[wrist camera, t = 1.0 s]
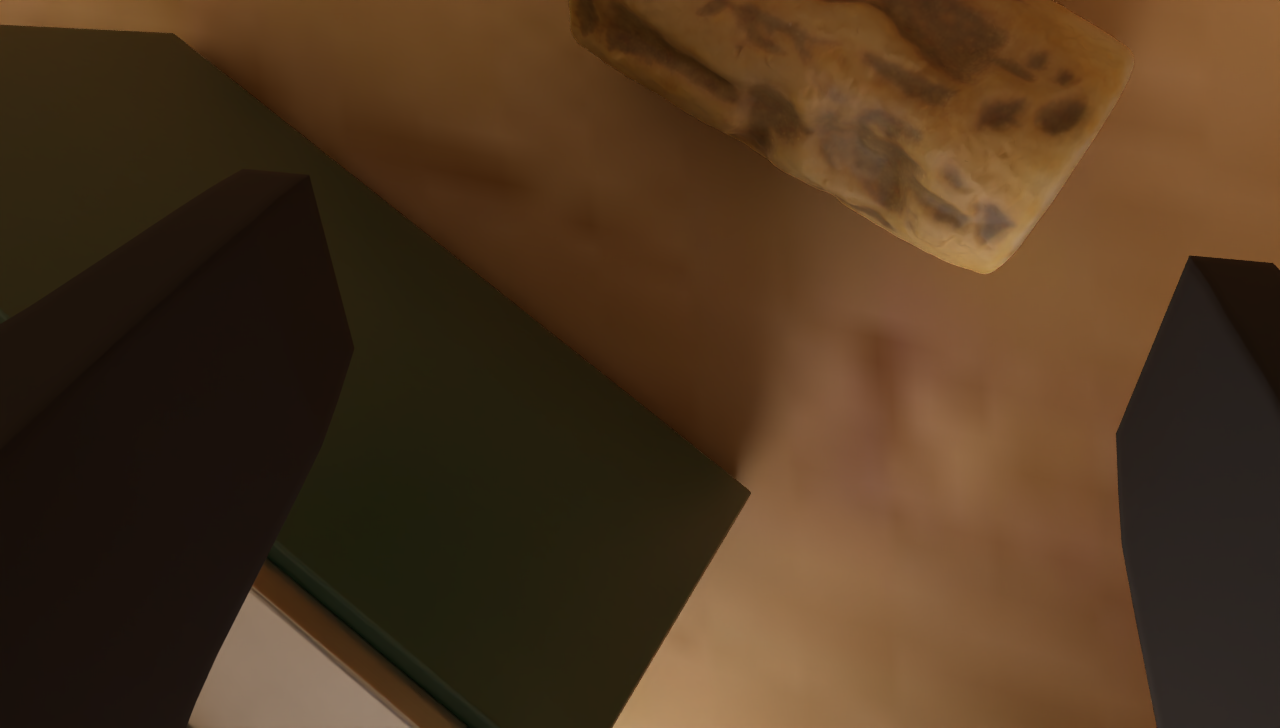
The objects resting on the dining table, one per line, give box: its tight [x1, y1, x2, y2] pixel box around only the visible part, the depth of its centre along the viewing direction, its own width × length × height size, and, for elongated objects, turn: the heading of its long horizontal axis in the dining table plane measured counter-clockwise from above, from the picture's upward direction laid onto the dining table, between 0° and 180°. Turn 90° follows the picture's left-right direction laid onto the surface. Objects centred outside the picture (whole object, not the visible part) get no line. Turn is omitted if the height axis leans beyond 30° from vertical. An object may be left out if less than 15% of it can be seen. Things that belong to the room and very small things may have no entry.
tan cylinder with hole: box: [569, 0, 1134, 274], centre depth 18 cm, size 8×4×4 cm, turn 63°
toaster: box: [0, 25, 751, 728], centre depth 20 cm, size 16×9×11 cm, turn 55°
